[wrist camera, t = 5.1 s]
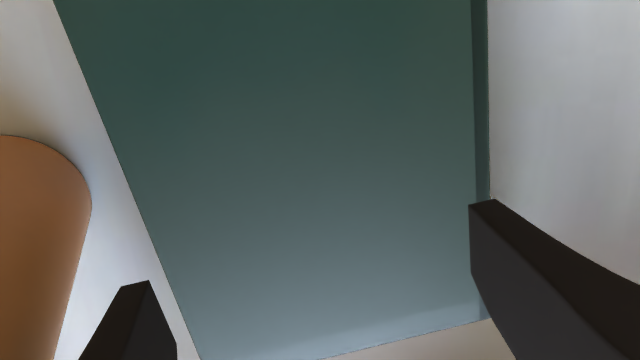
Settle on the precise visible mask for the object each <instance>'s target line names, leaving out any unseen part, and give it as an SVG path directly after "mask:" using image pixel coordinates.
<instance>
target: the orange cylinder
mask: <svg viewBox="0 0 640 360" xmlns="http://www.w3.org/2000/svg"><path fill="white" fill-rule="evenodd" d="M91 210H92V202H91V196H90V192H89V189H88V186H87V184H86V182H85V180H84V178H83V177H82V175H81V174H80V172H79V171H78V170H77V168H76V167H75V166H74V165H73V164H72V163H71V162H70V161H69V160H67V159H66V158H65V157H64V156H63V155H61V154H60V153H58V152H57V151H55V150H53V149H52V148H50V147H48V146H46V145H44V144H41V143H38V142H36V141H33V140H29V139H26V138H21V137H15V136H4V135H0V360H53V359H54V355H55V351H56V348H57V344H58V340H59V336H60V332H61V328H62V324H63V321H64V317H65V313H66V309H67V305H68V301H69V297H70V294H71V290H72V286H73V282H74V278H75V274H76V271H77V267H78V263H79V259H80V255H81V251H82V247H83V244H84V240H85V236H86V232H87V228H88V224H89V221H90V217H91Z"/></svg>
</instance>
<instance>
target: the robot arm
mask: <svg viewBox="0 0 640 360" xmlns="http://www.w3.org/2000/svg"><path fill="white" fill-rule="evenodd" d="M468 217H469V243H470V270H471V275H472V277H473V280H474V282H475V284H476V287H477V289H478V291H479V294H480V296H481V298H482V300H483V302H484V305H485V307H486V309H487V311H488V313H489V315H490V316H491V318H492V320H493V322H494V323H495V325H496V327H497V328H498V330H499V332H500V333H501V335H502V337H503V338H504V340H505V342H506V343H507V345H508V347H509V348H510V350H511V352H512V353H513V355H514V356H515V358H516V360H640V285H638V284H636V283H634V282H632V281H630V280H628V279H625V278H623V277H621V276H619V275H617V274H615V273H613V272H611V271H610V270H608V269H606V268H604V267H602V266H600V265H599V264H597V263H595V262H593V261H591V260H589V259H588V258H586V257H584V256H582V255H581V254H579V253H577V252H576V251H574V250H572V249H570V248H569V247H567V246H566V245H564V244H562V243H561V242H559V241H558V240H556V239H554V238H553V237H551V236H550V235H548V234H547V233H545V232H543V231H542V230H540V229H539V228H537V227H536V226H534V225H533V224H531V223H530V222H528V221H527V220H526V219H524V218H523V217H521V216H520V215H518V214H517V213H515V212H514V211H512V210H511V209H509V208H508V207H506V206H505V205H503V204H502V203H500V202H499V201H497V200H496V199H490V200H486V201H482V202H478V203H473V204H469V205H468ZM78 360H177V345H176V342H175V339H174V337H173V335H172V332H171V330H170V328H169V325H168V323H167V321H166V319H165V316H164V314H163V312H162V309H161V307H160V305H159V302H158V300H157V298H156V296H155V293H154V291H153V289H152V286H151V284H150V282H149V280H147V281H142V282H138V283H134V284H130V285H125V286H121V288H120V289H119V291H118V292H117V294H116V296H115V297H114V299H113V301H112V303H111V304H110V306H109V308H108V310H107V311H106V313H105V315H104V317H103V319H102V320H101V322H100V324H99V326H98V327H97V329H96V331H95V333H94V334H93V336H92V338H91V339H90V341H89V343H88V344H87V346H86V348H85V349H84V351H83V353H82V354H81V356H80V358H79V359H78Z"/></svg>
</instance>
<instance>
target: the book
mask: <svg viewBox="0 0 640 360" xmlns="http://www.w3.org/2000/svg"><path fill="white" fill-rule="evenodd" d="M53 2H54V4H55V7H56V9H57V12H58V14H59V17H60V19H61V21H62V24H63V26H64V29H65V31H66V34H67V36H68V38H69V41H70V43H71V46H72V48H73V51H74V53H75V55H76V58H77V60H78V63H79V65H80V68H81V70H82V73H83V75H84V77H85V80H86V82H87V85H88V87H89V90H90V92H91V94H92V97H93V99H94V102H95V104H96V107H97V109H98V111H99V114H100V116H101V119H102V121H103V124H104V126H105V129H106V131H107V133H108V136H109V138H110V141H111V143H112V146H113V148H114V150H115V153H116V155H117V158H118V160H119V163H120V165H121V167H122V170H123V172H124V175H125V177H126V180H127V182H128V184H129V187H130V189H131V192H132V194H133V197H134V199H135V202H136V204H137V206H138V209H139V211H140V214H141V216H142V219H143V221H144V223H145V226H146V228H147V231H148V233H149V236H150V238H151V240H152V243H153V245H154V248H155V250H156V253H157V255H158V258H159V260H160V262H161V265H162V267H163V270H164V272H165V275H166V277H167V279H168V282H169V284H170V287H171V289H172V292H173V294H174V296H175V299H176V301H177V304H178V306H179V309H180V311H181V313H182V316H183V318H184V321H185V323H186V326H187V328H188V331H189V333H190V335H191V338H192V340H193V343H194V345H195V348H196V350H197V352H198V355H199V357H200V360H322V359H326V358H330V357H334V356H338V355H342V354H346V353H350V352H354V351H358V350H362V349H367V348H371V347H375V346H379V345H383V344H387V343H391V342H395V341H399V340H403V339H407V338H411V337H415V336H420V335H424V334H428V333H432V332H436V331H440V330H444V329H448V328H452V327H456V326H460V325H464V324H469V323H473V322H477V321H481V320H485V319H489V318H491V316H490V315H489V313H488V311H487V309H486V307H485V305H484V302H483V300H482V298H481V296H480V294H479V291H478V289H477V287H476V284H475V282H474V280H473V277H472V275H471V270H470V243H469V217H468V205H469V204H473V203H478V202H482V201H486V200H490V174H489V100H488V25H487V0H53Z"/></svg>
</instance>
